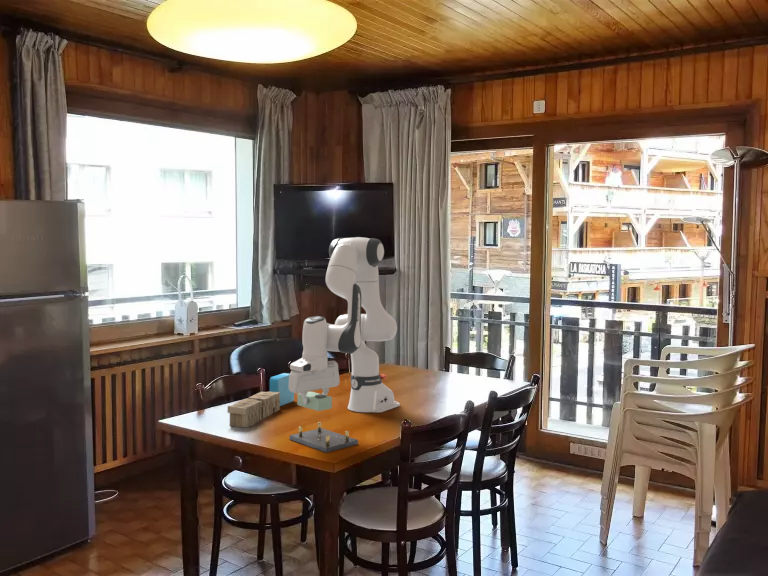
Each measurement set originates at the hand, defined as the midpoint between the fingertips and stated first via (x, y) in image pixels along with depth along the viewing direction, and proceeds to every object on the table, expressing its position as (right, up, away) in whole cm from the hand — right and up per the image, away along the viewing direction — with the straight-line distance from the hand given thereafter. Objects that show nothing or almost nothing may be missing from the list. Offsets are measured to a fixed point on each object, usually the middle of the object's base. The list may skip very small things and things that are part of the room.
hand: (314, 402), depth 251 cm
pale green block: (0, -2, 0) cm, 2 cm away
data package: (-19, -9, +50) cm, 54 cm away
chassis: (+4, -13, -5) cm, 14 cm away
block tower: (-26, -11, +26) cm, 38 cm away
